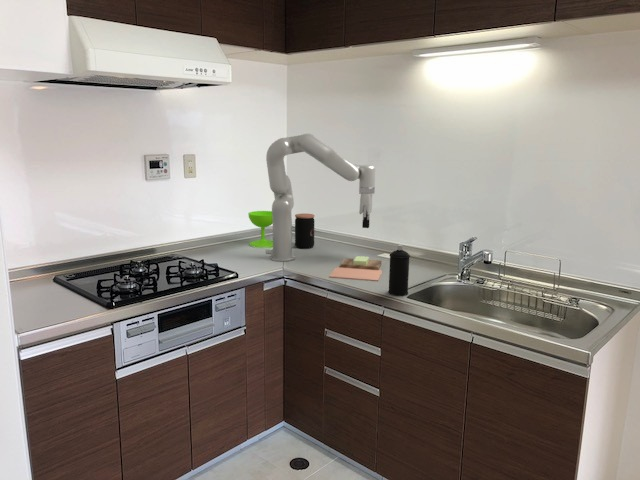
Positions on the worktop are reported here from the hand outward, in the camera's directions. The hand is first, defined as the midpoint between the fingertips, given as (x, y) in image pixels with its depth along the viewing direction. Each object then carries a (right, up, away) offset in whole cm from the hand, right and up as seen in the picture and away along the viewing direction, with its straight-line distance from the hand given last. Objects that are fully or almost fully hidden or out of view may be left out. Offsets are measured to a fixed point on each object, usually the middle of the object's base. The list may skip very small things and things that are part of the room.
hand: (365, 227), depth 258 cm
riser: (-3, -19, -7) cm, 20 cm away
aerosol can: (+9, -28, -46) cm, 54 cm away
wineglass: (-55, -9, +37) cm, 67 cm away
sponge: (-3, -16, -8) cm, 18 cm away
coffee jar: (-31, -10, +32) cm, 46 cm away
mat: (-6, -22, -20) cm, 30 cm away
